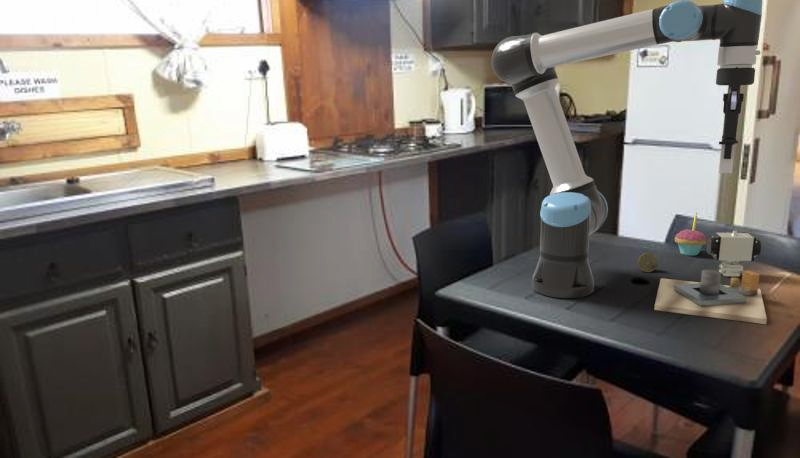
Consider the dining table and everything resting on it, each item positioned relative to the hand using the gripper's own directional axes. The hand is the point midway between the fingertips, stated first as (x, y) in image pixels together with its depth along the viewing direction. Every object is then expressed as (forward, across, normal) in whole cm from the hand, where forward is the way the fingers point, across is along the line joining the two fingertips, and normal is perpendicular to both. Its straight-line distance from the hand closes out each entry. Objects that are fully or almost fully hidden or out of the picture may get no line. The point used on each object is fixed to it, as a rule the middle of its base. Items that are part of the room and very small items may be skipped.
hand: (725, 172), depth 143 cm
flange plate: (+28, -6, -1) cm, 29 cm away
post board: (+29, -7, +1) cm, 30 cm away
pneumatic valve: (+30, +16, -4) cm, 34 cm away
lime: (+30, +12, +16) cm, 36 cm away
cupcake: (+30, +33, +6) cm, 45 cm away
